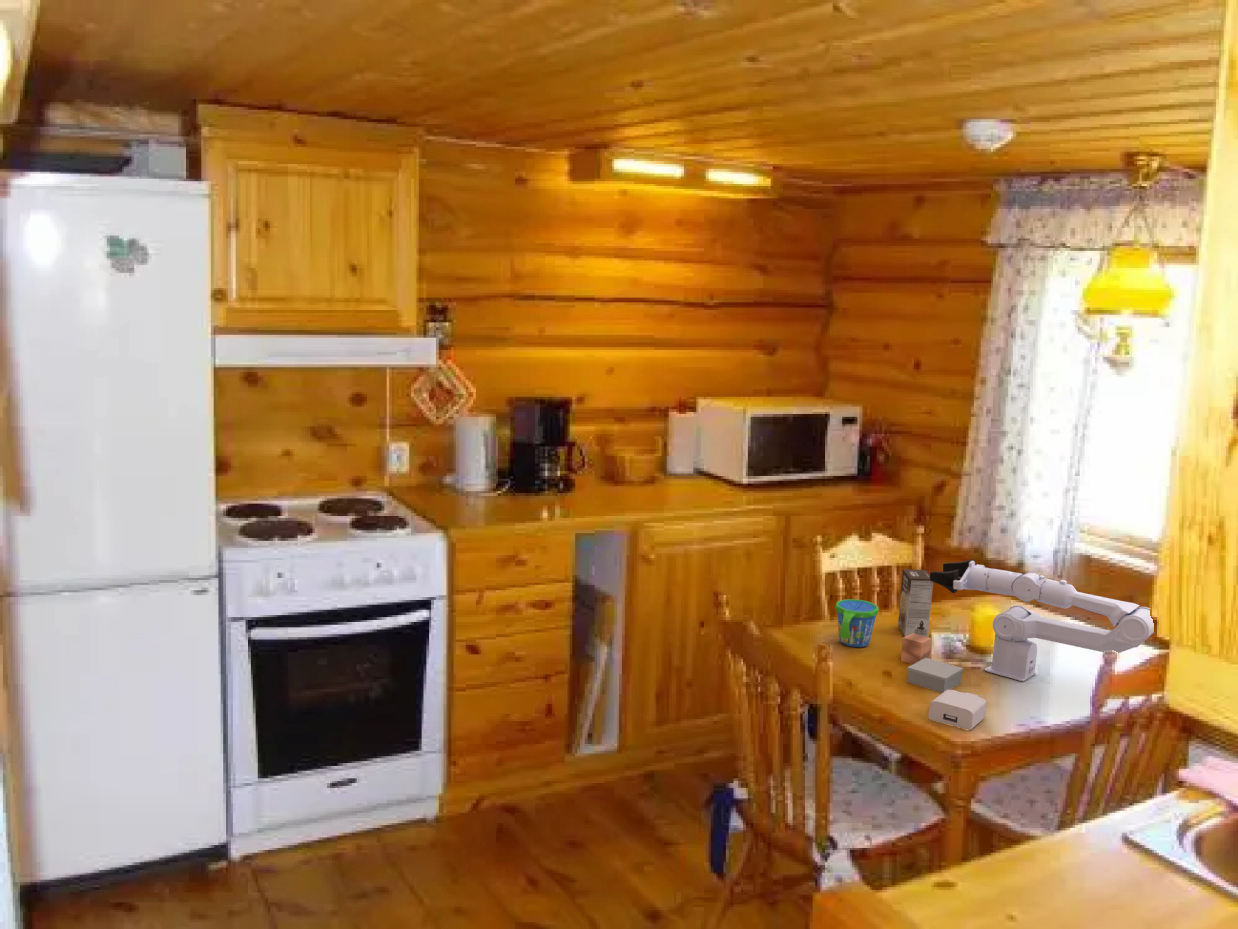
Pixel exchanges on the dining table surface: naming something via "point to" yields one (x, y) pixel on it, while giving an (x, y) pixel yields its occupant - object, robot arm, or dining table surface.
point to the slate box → (934, 675)
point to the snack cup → (855, 621)
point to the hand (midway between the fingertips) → (937, 571)
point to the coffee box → (915, 602)
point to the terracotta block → (915, 648)
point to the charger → (958, 709)
